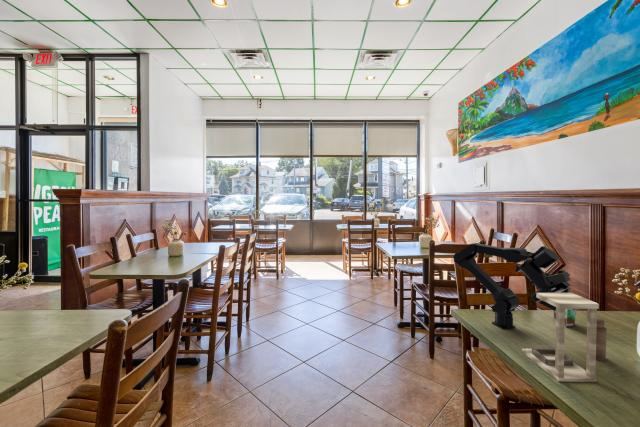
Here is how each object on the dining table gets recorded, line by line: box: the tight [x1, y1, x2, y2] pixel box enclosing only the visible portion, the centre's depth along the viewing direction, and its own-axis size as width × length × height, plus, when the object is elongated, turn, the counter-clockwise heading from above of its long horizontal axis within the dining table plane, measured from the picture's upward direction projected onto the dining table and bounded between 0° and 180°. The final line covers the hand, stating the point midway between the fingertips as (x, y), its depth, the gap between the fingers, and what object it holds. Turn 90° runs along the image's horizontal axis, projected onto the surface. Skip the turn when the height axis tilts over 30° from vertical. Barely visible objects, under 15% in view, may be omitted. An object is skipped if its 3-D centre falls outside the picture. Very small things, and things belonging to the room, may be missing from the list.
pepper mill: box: [596, 317, 608, 361], centre depth 104 cm, size 4×4×13 cm
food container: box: [553, 309, 578, 328], centre depth 132 cm, size 12×6×10 cm, turn 168°
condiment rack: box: [521, 292, 600, 383], centre depth 99 cm, size 18×11×24 cm, turn 177°
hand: (570, 311), depth 110 cm, fingers open, 9 cm apart
